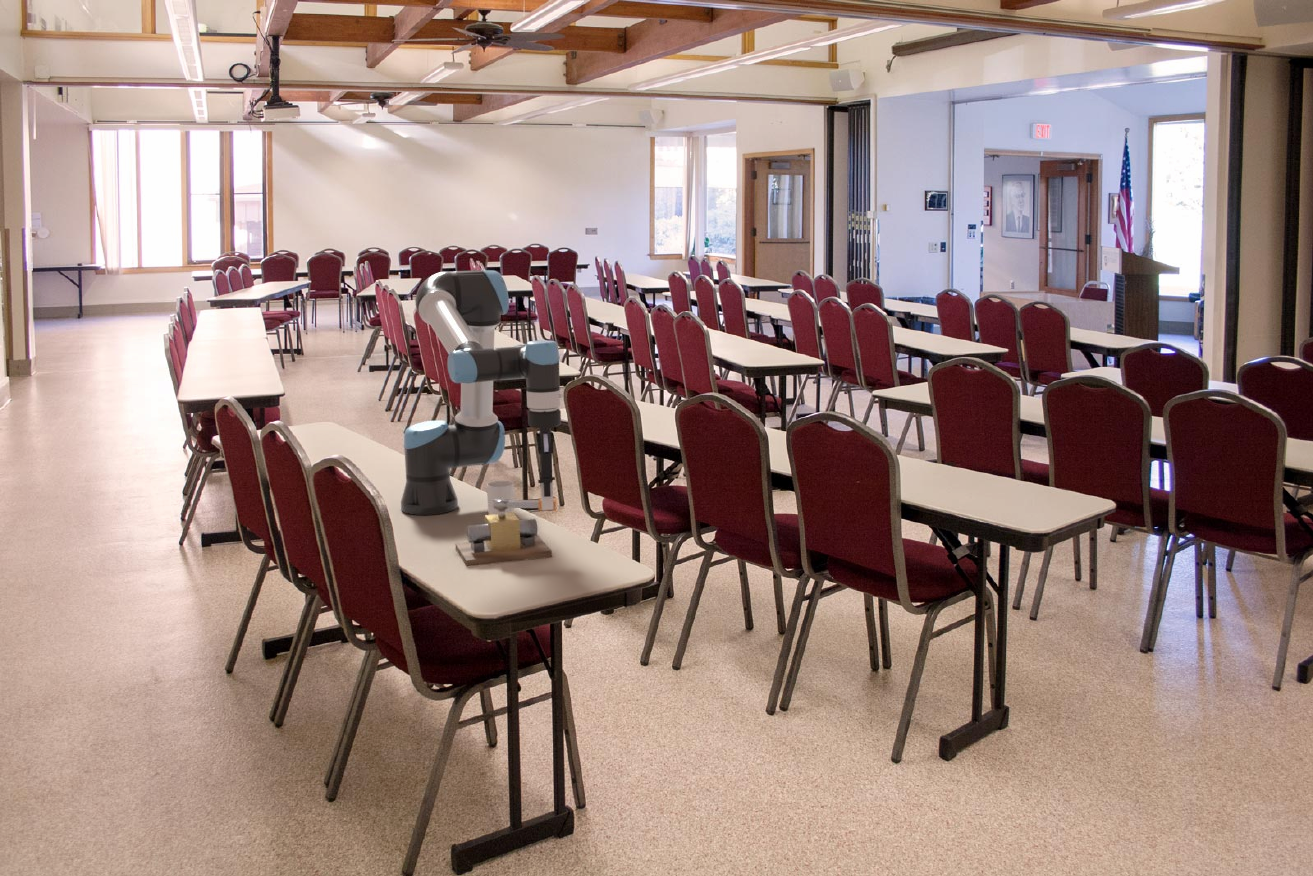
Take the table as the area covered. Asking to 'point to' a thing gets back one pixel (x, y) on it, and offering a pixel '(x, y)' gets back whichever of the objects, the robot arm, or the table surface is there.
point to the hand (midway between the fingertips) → (547, 509)
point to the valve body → (502, 533)
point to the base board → (502, 553)
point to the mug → (499, 494)
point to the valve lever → (520, 504)
